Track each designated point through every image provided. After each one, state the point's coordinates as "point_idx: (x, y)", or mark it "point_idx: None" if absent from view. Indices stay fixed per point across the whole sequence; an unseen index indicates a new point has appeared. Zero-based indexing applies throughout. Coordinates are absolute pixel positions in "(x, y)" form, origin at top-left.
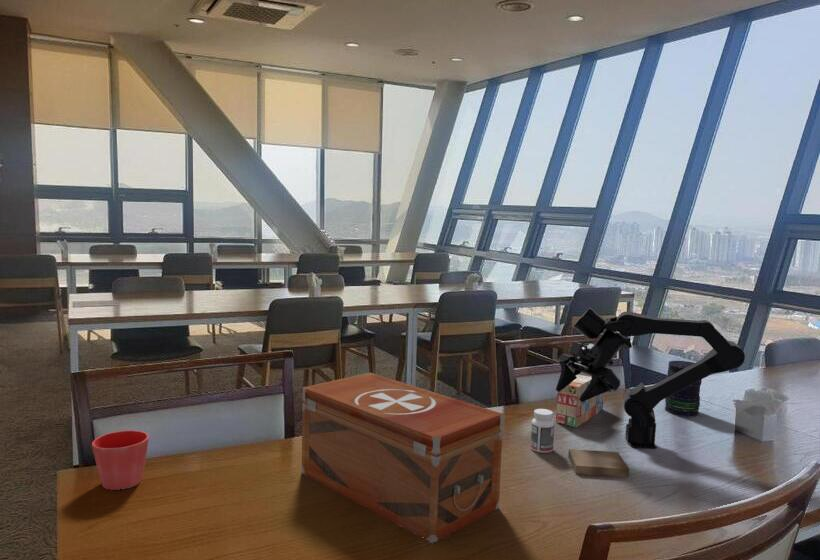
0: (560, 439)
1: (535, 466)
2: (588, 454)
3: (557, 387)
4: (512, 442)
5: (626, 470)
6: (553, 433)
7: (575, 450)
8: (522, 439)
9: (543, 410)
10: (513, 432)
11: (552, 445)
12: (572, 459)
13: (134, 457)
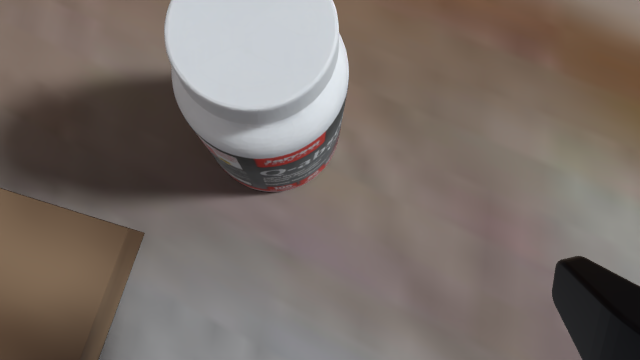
0: (407, 315)
1: (69, 7)
2: (21, 314)
3: (585, 277)
4: (393, 14)
5: None
6: (210, 150)
7: (99, 261)
8: (431, 84)
9: (284, 40)
10: (543, 76)
11: (219, 163)
12: (9, 191)
13: None
